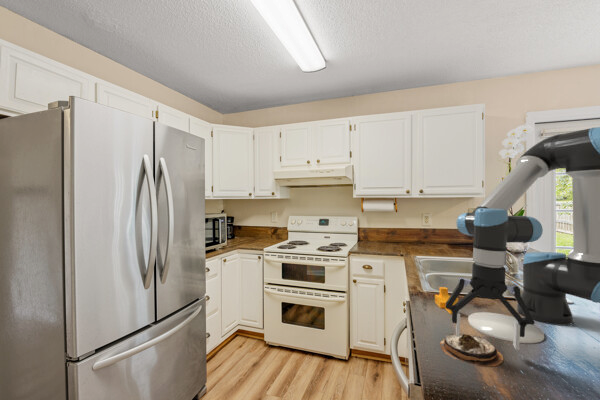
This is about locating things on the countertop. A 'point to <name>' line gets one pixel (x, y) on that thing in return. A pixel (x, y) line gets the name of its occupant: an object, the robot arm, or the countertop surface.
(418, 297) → the countertop surface
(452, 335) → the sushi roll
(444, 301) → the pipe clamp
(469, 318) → the plate
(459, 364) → the countertop surface
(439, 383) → the countertop surface
